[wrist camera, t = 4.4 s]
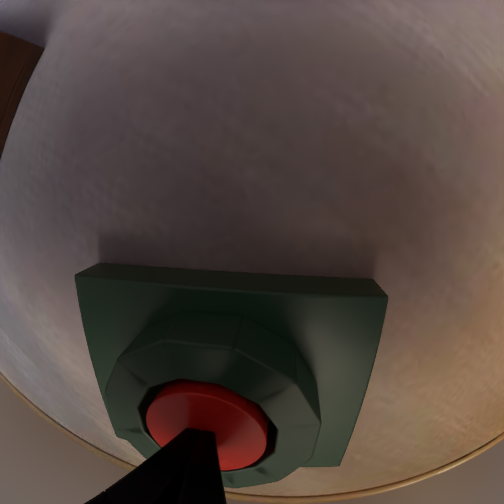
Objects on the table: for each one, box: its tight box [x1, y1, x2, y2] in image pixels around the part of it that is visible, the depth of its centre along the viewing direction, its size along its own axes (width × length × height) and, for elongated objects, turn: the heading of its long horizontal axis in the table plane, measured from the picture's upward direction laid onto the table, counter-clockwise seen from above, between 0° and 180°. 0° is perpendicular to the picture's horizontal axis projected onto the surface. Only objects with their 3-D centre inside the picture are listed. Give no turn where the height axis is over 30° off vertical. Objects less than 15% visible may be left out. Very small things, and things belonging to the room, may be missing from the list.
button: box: [146, 379, 269, 470], centre depth 8 cm, size 4×4×2 cm
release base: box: [75, 262, 388, 488], centre depth 9 cm, size 10×8×4 cm
